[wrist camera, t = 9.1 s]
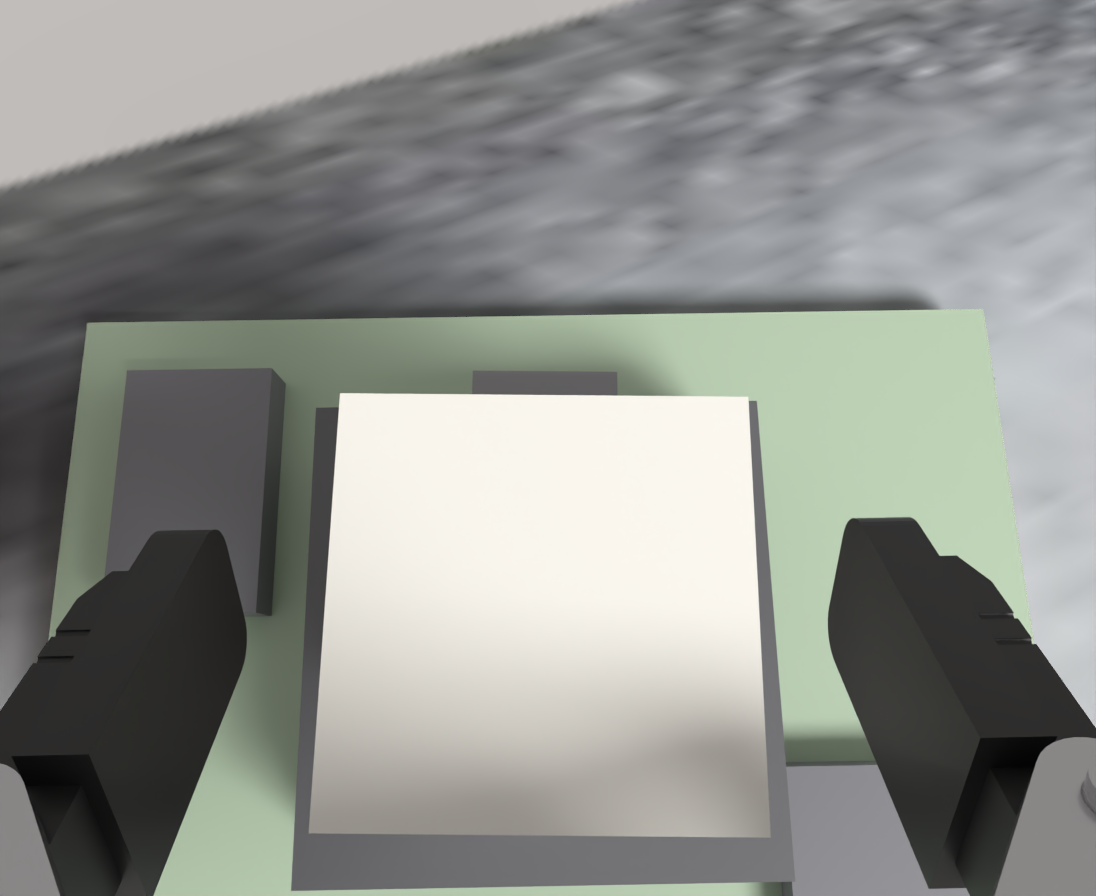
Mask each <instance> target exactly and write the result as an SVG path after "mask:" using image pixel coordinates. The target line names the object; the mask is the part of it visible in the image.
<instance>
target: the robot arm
mask: <svg viewBox="0 0 1096 896" xmlns="http://www.w3.org/2000/svg"><path fill="white" fill-rule="evenodd" d="M1013 613H1014V612H1013V611H1012V609H1011V608H1010V606H1009V605H1008V603H1007V602H1006V601H1005V599H1004V598H1003V596H1002V595H1001V594H1000V592H999V591H998V589H997V588H996V587H995V585H994V584H993V582H992V581H991V580H989V579H988V578H987V577H985V576H984V575H982V574H981V573H980V572H978V571H977V570H976V569H974V568H973V567H972V566H970V565H969V564H968V563H966V562H965V561H964V560H962V559H961V558H960V557H958V556H957V555H954V556H939V554H938V553H937V551H936V550H935V548H934V547H933V545H932V543H931V542H930V540H929V539H928V537H927V536H926V534H925V533H924V531H923V530H922V528H921V527H920V525H919V524H918V522H917V521H916V520H915V519H913V518H911V517H885V518H852V519H850V520H849V521H848V522H847V524H846V526H845V529H844V533H843V538H842V543H841V548H840V553H839V558H838V563H837V569H836V574H835V579H834V584H833V589H832V594H831V599H830V605H829V611H828V636H829V643H830V648H831V652H832V656H833V659H834V661H835V664H836V666H837V669H838V671H839V674H840V676H841V678H842V681H843V683H844V686H845V688H846V690H847V693H848V695H849V698H850V700H851V702H852V705H853V707H854V710H855V712H856V715H857V717H858V719H859V722H860V724H861V727H862V729H863V731H864V734H865V736H866V739H867V741H868V743H869V746H870V748H871V751H872V753H873V756H874V758H875V760H876V763H877V765H878V768H879V770H880V772H881V775H882V777H883V780H884V782H885V784H886V787H887V789H888V792H889V794H890V797H891V799H892V801H893V804H894V806H895V809H896V811H897V813H898V816H899V818H900V821H901V823H902V825H903V828H904V830H905V833H906V835H907V838H908V840H909V842H910V845H911V847H912V850H913V852H914V854H915V857H916V859H917V862H918V864H919V867H920V869H921V871H922V874H923V876H924V879H925V881H926V883H927V886H928V888H929V889H947V888H967V891H968V893H969V895H970V896H1096V728H1095V726H1094V725H1093V724H1092V722H1091V721H1090V719H1089V718H1088V716H1087V715H1086V714H1085V712H1084V711H1083V709H1082V708H1081V707H1080V705H1079V704H1078V702H1077V701H1076V700H1075V698H1074V697H1073V695H1072V694H1071V692H1070V691H1069V690H1068V688H1067V687H1066V685H1065V684H1064V683H1063V681H1062V680H1061V678H1060V677H1059V676H1058V674H1057V673H1056V671H1055V670H1054V668H1053V667H1052V666H1051V664H1050V663H1049V661H1048V660H1047V659H1046V657H1045V656H1044V654H1043V653H1042V652H1041V650H1040V649H1039V647H1038V646H1037V644H1032V641H1031V638H1032V637H1031V636H1030V635H1029V633H1028V632H1027V630H1026V629H1025V627H1024V626H1023V625H1022V623H1021V622H1020V620H1019V619H1018V618H1014V616H1013ZM246 648H247V628H246V621H245V616H244V612H243V608H242V604H241V600H240V596H239V592H238V588H237V584H236V580H235V576H234V572H233V568H232V564H231V560H230V556H229V552H228V548H227V545H226V541H225V539H224V536H223V535H222V533H221V532H220V531H219V530H168V531H156V532H154V533H153V534H152V535H151V536H150V538H149V539H148V541H147V542H146V544H145V545H144V547H143V548H142V550H141V552H140V553H139V555H138V556H137V558H136V560H135V561H134V563H133V564H132V566H131V567H130V569H129V571H112V572H111V573H109V574H108V575H107V576H105V577H104V578H103V579H102V580H100V581H99V582H98V583H96V584H95V585H94V586H93V587H91V588H90V589H89V590H88V591H86V592H85V593H84V594H82V595H81V596H80V597H79V598H77V600H76V601H75V602H74V604H73V605H72V607H71V608H70V610H69V611H68V613H67V614H66V616H65V617H64V619H63V620H62V622H61V623H60V624H59V626H58V627H57V629H56V635H55V637H51V638H50V639H49V641H48V642H47V643H46V645H45V646H44V648H43V649H42V651H41V652H40V654H39V655H38V662H37V663H33V664H32V665H31V667H30V668H29V670H28V671H27V673H26V674H25V676H24V677H23V679H22V680H21V682H20V683H19V684H18V686H17V687H16V689H15V690H14V692H13V693H12V695H11V696H10V698H9V699H8V701H7V702H6V704H5V705H4V706H3V708H2V709H1V711H0V896H153V895H154V893H155V890H156V888H157V885H158V883H159V880H160V877H161V875H162V872H163V870H164V867H165V865H166V862H167V860H168V857H169V855H170V852H171V850H172V847H173V844H174V842H175V839H176V837H177V834H178V832H179V829H180V827H181V824H182V822H183V819H184V816H185V814H186V811H187V809H188V806H189V804H190V801H191V799H192V796H193V794H194V791H195V788H196V786H197V783H198V781H199V778H200V776H201V773H202V771H203V768H204V766H205V763H206V761H207V758H208V755H209V753H210V750H211V748H212V745H213V743H214V740H215V738H216V735H217V733H218V730H219V727H220V725H221V722H222V720H223V717H224V715H225V712H226V710H227V707H228V705H229V702H230V699H231V697H232V694H233V692H234V689H235V687H236V684H237V682H238V679H239V677H240V674H241V671H242V668H243V665H244V661H245V656H246Z"/></svg>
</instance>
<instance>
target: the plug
mask: <svg viewBox="0 0 1096 896" xmlns="http://www.w3.org/2000/svg"><path fill="white" fill-rule="evenodd" d="M309 833H317V834H425V835H533V836H640V837H748V838H771V832H770V812H769V793H768V773H767V753H766V734H765V714H764V694H763V675H762V655H761V635H760V616H759V596H758V576H757V557H756V537H755V517H754V498H753V478H752V458H751V439H750V419H749V399H748V397H724V396H618V395H617V372H583V371H473V378H472V394H373V393H340V400H339V414H338V428H337V442H336V456H335V470H334V484H333V498H332V512H331V526H330V540H329V554H328V568H327V582H326V596H325V610H324V624H323V638H322V652H321V666H320V680H319V694H318V708H317V722H316V736H315V750H314V764H313V778H312V792H311V806H310V820H309Z"/></svg>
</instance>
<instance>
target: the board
mask: <svg viewBox="0 0 1096 896" xmlns="http://www.w3.org/2000/svg"><path fill="white" fill-rule="evenodd" d="M473 371H583V372H617V395H618V396H724V397H748V399H749V419H750V439H751V458H752V478H753V498H754V517H755V537H756V557H757V576H758V596H759V616H760V635H761V655H762V675H763V694H764V714H765V734H766V753H767V773H768V793H769V812H770V832H771V838H748V837H640V836H533V835H425V834H317V833H309V820H310V806H311V792H312V778H313V764H314V750H315V736H316V722H317V708H318V694H319V680H320V666H321V652H322V638H323V624H324V610H325V596H326V582H327V568H328V554H329V540H330V526H331V512H332V498H333V484H334V470H335V456H336V442H337V428H338V414H339V400H340V393H373V394H472V378H473ZM885 517H911V518H913V519H915V520H916V521H917V522H918V524H919V525H920V527H921V528H922V530H923V531H924V533H925V534H926V536H927V537H928V539H929V540H930V542H931V543H932V545H933V547H934V548H935V550H936V551H937V553H938V554H939V556H954V555H957V556H958V557H960V558H961V559H962V560H964V561H965V562H966V563H968V564H969V565H970V566H972V567H973V568H974V569H976V570H977V571H978V572H980V573H981V574H982V575H984V576H985V577H987V578H988V579H989V580H991V581H992V582H993V584H994V585H995V587H996V588H997V589H998V591H999V592H1000V594H1001V595H1002V596H1003V598H1004V599H1005V601H1006V602H1007V603H1008V605H1009V606H1010V608H1011V609H1012V611H1013V612H1014V613H1013V616H1014V618H1018V619H1019V620H1020V622H1021V623H1022V625H1023V626H1024V627H1025V629H1026V630H1027V632H1028V633H1029V635H1030V636H1031V637H1032V638H1031V641H1032V644H1034V639H1033V632H1032V626H1031V619H1030V613H1029V606H1028V599H1027V593H1026V586H1025V580H1024V573H1023V567H1022V560H1021V553H1020V547H1019V540H1018V534H1017V527H1016V521H1015V514H1014V507H1013V501H1012V494H1011V488H1010V481H1009V474H1008V468H1007V461H1006V455H1005V448H1004V442H1003V435H1002V428H1001V422H1000V415H999V409H998V402H997V395H996V389H995V382H994V376H993V369H992V363H991V356H990V349H989V343H988V336H987V330H986V323H985V316H984V310H983V309H949V310H884V311H819V312H754V313H688V314H623V315H558V316H493V317H428V318H362V319H297V320H232V321H167V322H101V323H87V330H86V338H85V346H84V354H83V362H82V370H81V378H80V386H79V395H78V403H77V411H76V419H75V427H74V435H73V443H72V451H71V460H70V468H69V476H68V484H67V492H66V500H65V508H64V516H63V525H62V533H61V541H60V549H59V557H58V565H57V573H56V581H55V590H54V598H53V606H52V614H51V622H50V630H49V638H48V641H49V639H50V638H51V637H55V635H56V629H57V627H58V626H59V624H60V623H61V622H62V620H63V619H64V617H65V616H66V614H67V613H68V611H69V610H70V608H71V607H72V605H73V604H74V602H75V601H76V600H77V598H79V597H80V596H81V595H82V594H84V593H85V592H86V591H88V590H89V589H90V588H91V587H93V586H94V585H95V584H96V583H98V582H99V581H100V580H102V579H103V578H104V577H105V576H107V575H108V574H109V573H111V572H112V571H129V569H130V567H131V566H132V564H133V563H134V561H135V560H136V558H137V556H138V555H139V553H140V552H141V550H142V548H143V547H144V545H145V544H146V542H147V541H148V539H149V538H150V536H151V535H152V534H153V533H154V532H156V531H168V530H219V531H220V532H221V533H222V535H223V536H224V539H225V541H226V545H227V548H228V552H229V556H230V560H231V564H232V568H233V572H234V576H235V580H236V584H237V588H238V592H239V596H240V600H241V604H242V608H243V612H244V616H245V621H246V628H247V648H246V656H245V661H244V665H243V668H242V671H241V674H240V677H239V679H238V682H237V684H236V687H235V689H234V692H233V694H232V697H231V699H230V702H229V705H228V707H227V710H226V712H225V715H224V717H223V720H222V722H221V725H220V727H219V730H218V733H217V735H216V738H215V740H214V743H213V745H212V748H211V750H210V753H209V755H208V758H207V761H206V763H205V766H204V768H203V771H202V773H201V776H200V778H199V781H198V783H197V786H196V788H195V791H194V794H193V796H192V799H191V801H190V804H189V806H188V809H187V811H186V814H185V816H184V819H183V822H182V824H181V827H180V829H179V832H178V834H177V837H176V839H175V842H174V844H173V847H172V850H171V852H170V855H169V857H168V860H167V862H166V865H165V867H164V870H163V872H162V875H161V877H160V880H159V883H158V885H157V888H156V890H155V893H154V895H153V896H970V895H969V893H968V891H967V888H947V889H929V888H928V886H927V883H926V881H925V879H924V876H923V874H922V871H921V869H920V867H919V864H918V862H917V859H916V857H915V854H914V852H913V850H912V847H911V845H910V842H909V840H908V838H907V835H906V833H905V830H904V828H903V825H902V823H901V821H900V818H899V816H898V813H897V811H896V809H895V806H894V804H893V801H892V799H891V797H890V794H889V792H888V789H887V787H886V784H885V782H884V780H883V777H882V775H881V772H880V770H879V768H878V765H877V763H876V760H875V758H874V756H873V753H872V751H871V748H870V746H869V743H868V741H867V739H866V736H865V734H864V731H863V729H862V727H861V724H860V722H859V719H858V717H857V715H856V712H855V710H854V707H853V705H852V702H851V700H850V698H849V695H848V693H847V690H846V688H845V686H844V683H843V681H842V678H841V676H840V674H839V671H838V669H837V666H836V664H835V661H834V659H833V656H832V652H831V648H830V643H829V636H828V611H829V605H830V599H831V594H832V589H833V584H834V579H835V574H836V569H837V563H838V558H839V553H840V548H841V543H842V538H843V533H844V529H845V526H846V524H847V522H848V521H849V520H850V519H852V518H885Z"/></svg>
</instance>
